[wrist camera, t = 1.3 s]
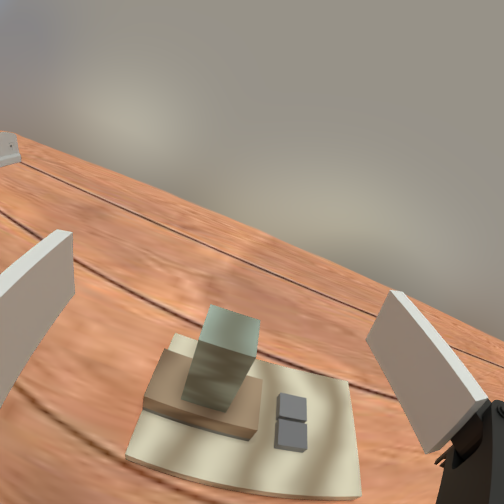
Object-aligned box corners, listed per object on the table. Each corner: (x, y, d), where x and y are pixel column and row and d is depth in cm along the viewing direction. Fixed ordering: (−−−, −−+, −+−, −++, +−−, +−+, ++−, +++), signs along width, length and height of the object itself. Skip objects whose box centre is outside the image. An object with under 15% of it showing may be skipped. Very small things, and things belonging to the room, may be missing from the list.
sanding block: (142, 409, 23) (151, 333, 18) (161, 364, 28) (177, 284, 23) (248, 441, 23) (297, 379, 18) (254, 393, 29) (295, 323, 24)
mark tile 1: (273, 448, 23) (277, 444, 23) (275, 423, 26) (279, 418, 25) (302, 452, 23) (307, 448, 23) (302, 428, 26) (307, 423, 26)
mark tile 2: (275, 419, 26) (279, 415, 26) (276, 397, 29) (280, 392, 28) (302, 425, 26) (307, 420, 26) (302, 402, 29) (306, 398, 29)
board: (125, 459, 19) (125, 454, 18) (173, 341, 33) (175, 332, 32) (353, 500, 20) (361, 496, 20) (341, 387, 34) (347, 381, 34)
